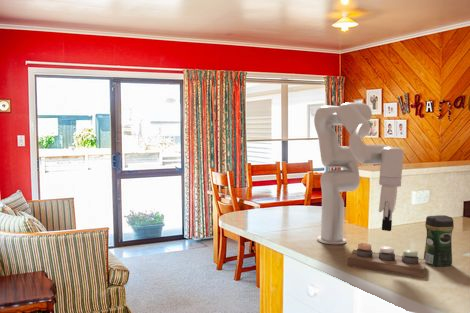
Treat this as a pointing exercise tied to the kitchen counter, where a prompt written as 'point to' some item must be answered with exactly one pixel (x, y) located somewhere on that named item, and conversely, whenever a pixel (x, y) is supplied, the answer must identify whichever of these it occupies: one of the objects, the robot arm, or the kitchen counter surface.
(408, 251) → the sage button
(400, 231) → the kitchen counter surface
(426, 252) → the coffee jar
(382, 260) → the button board
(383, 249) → the white button
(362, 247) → the terracotta button
